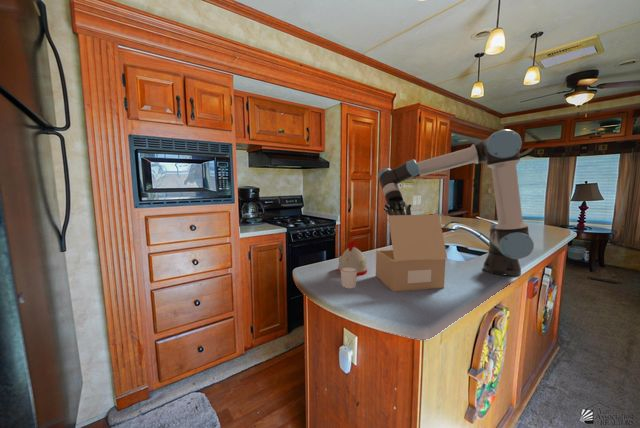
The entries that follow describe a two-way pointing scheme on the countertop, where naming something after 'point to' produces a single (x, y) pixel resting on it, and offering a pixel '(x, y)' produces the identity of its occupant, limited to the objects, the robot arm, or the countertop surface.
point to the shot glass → (348, 277)
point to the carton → (409, 272)
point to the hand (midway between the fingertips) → (408, 236)
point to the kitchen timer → (353, 259)
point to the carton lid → (417, 237)
